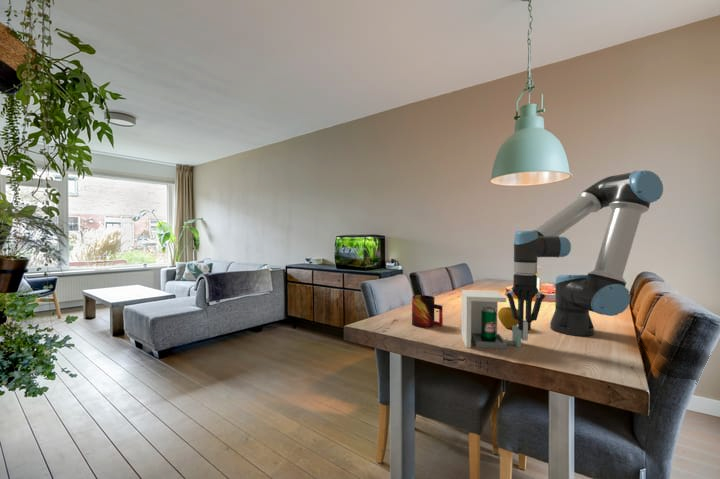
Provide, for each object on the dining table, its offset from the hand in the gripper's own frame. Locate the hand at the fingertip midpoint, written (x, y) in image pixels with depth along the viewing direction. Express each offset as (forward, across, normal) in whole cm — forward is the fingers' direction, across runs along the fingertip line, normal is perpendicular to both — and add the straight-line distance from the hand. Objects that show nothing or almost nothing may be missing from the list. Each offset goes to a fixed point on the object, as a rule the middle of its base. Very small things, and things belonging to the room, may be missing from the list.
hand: (524, 339), depth 118 cm
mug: (+2, +33, -20) cm, 39 cm away
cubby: (+2, +14, 0) cm, 14 cm away
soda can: (+2, +12, 0) cm, 12 cm away
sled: (+2, +9, 0) cm, 10 cm away
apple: (+2, -1, -22) cm, 22 cm away
